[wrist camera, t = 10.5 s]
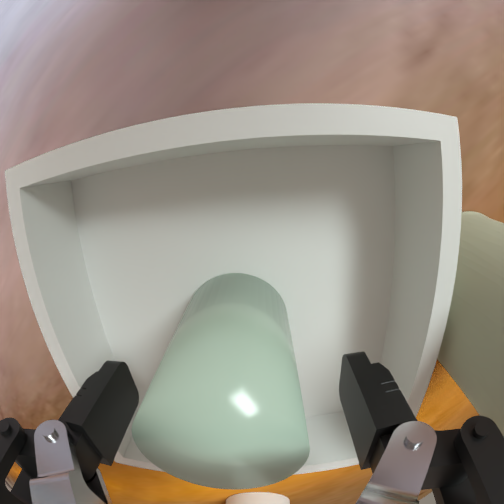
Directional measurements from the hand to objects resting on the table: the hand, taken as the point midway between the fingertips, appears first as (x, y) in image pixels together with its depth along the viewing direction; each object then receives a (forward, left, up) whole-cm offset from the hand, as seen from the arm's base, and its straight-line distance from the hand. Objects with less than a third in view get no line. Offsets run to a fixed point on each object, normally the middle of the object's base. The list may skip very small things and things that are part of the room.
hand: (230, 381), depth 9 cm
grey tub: (0, 0, -6) cm, 6 cm away
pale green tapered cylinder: (0, 0, -5) cm, 5 cm away
